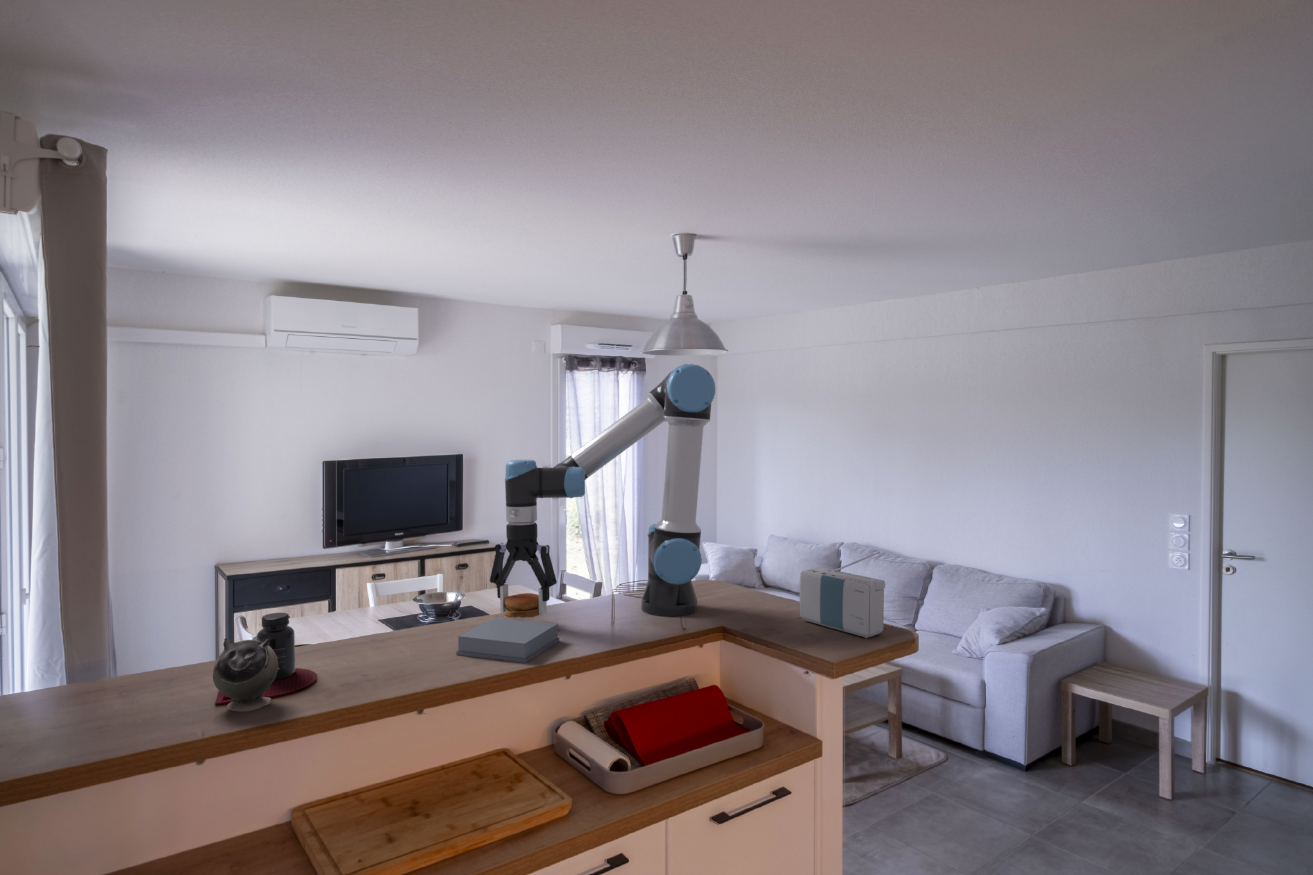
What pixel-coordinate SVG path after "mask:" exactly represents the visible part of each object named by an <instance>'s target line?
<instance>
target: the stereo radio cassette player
mask: <svg viewBox="0 0 1313 875" xmlns="http://www.w3.org/2000/svg"><path fill="white" fill-rule="evenodd" d="M879 554H881V552H880V551H877V552H876V553H873V554H870V555H868V556H866V557H863V558H860V559H858V560H855V561H853V562H851V563H848V564H846V565H843V566H841V567H838V568H836V569H830V568H825V567H816V568H815V567H814V568H810V569H804V570H801V571H800V577H799V614H800V615H799V617H800V618H802V619H803V620H804V621H805V622H806V623H808V622H810V623H813V624H817V625H820V626H823V627H827V628H830V629H835V630H838V631H841V632H845V633H849V634H852V635H855V636H859V637H863V638H864V639H869V638H871V637H875V636H876V635H880V634H881V633H882V632H884V620H885V619H884V616H885V615H884V611H885V608H884V606H885V603H884V602H885V588H886V581H885V579H879V578H875V577H870V576H869V577H868V576H863V575H860V574H854V573H849V572H844V571H841V570H843V569H845V568H848V567H850V566H853V565H855V564H858V563H859V562H862V561H864V560H866V559H868V558H871V557H873V556H875V555H879Z"/></svg>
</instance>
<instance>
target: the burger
mask: <svg viewBox="0 0 1313 875" xmlns="http://www.w3.org/2000/svg"><path fill="white" fill-rule="evenodd" d="M505 605H506V608H505V609H506V611H505V612H504V615H505V617H507V618H512V619H514V618H534V617H537V616H540V615H539V594H537V593H532V592H531V593H530V592H524V593H517V594H513V595H508V597H507V598H506V600H505Z"/></svg>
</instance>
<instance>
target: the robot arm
mask: <svg viewBox="0 0 1313 875" xmlns="http://www.w3.org/2000/svg"><path fill="white" fill-rule="evenodd" d="M715 395H716V383H715V380H714V377H713V376H712V374H711V373H710V372H709V370H707V369H706V368H704V367H702V366H701V365H698V364H694V363H690V364H688V363H685V364H682V365H681V364H680V365H679V366H676V368H674V369H673V370H671V371H670V372H669V373H668V374H667V375H666V377H664V379H663V380H662V381H661V382H660V383H659V384H657V386H655V387H654V388H653V389H652V390H650V391H649V392H648V393H647V398H646V399H644V400H643V401H642V402H640V403H639V404H637V405H636V406H635V407H634V408H633V409H631V410H630V411H628V412H627V413H625V414H624V415H623V416H621V417H620V418H619V419H617V420H616V421H615V422H613V423H612V424H611V425H609V426H608V427H607V428H605V429H604V430H602V431H601V432H600V433H599V434H598V435H596V436H594V437H593V438H592V439H590V440H589V441H587V443H585V444H584V445H582V446H581V447H580V448H579V449H577V450H576V451H575V452H573V453H572V454H571V455H569V456H568V457H566V458H565V459H564V460H563V461H561V462H560V463H558V464H555V466H552V467H537V466H538V465H537V461H535V460H534V459H513V460H509V461H507V462H506V464H505V475H504V476H505V477H504V482H505V483H504V485H505V486H504V487H505V511H506V512H505V519H506V520H505V521H506V522H507V524H506V527H505V528H506V529H505V530H506V532H505V533H506V541H507V542H506V543H504V542H500V543H497V544H495V550H494V551H495V556H494V559H493V564H492V568H491V572H490V577H489V583H491V584H494V585H496V591H497V594H496V595H497V599H499V600H500V613H502V614H503V613H504V614H505V611H506V609H505V608H506V605H505V600H506V598H507V597H508V596H509V584H507V580H508V578H509V575H510V573H511V571H512V570H513V568H514V566H515V563H516V562H519V561H522V562H526V563H527V564H528V565H529V566H530V568H531V569H532V572H533V574H534V575H535V577H536V580H537V581H538V583H539V585H540V587H539V588H538V595H539V615H538V616H541V617H542V616H543V615H545V614H547V612H548V608H547V602H548V601H549V600H550V597H551V596H550V589H551V587H553V586H555V585H556V584H558V583H557V582H558V580H557V577H556V574H555V571H554V567H553V562H552V559H551V556H550V550H551V549H550V548H551V546H550V545H549V544H546V545H543V544H539V542H538V524H537V521H538V509H537V508H538V507H537V506H538V505H537V503H538V502H537V501H538V499H549V498H550V499H554V498H555V499H556V498H557V499H561V498H562V499H563V498H564V499H565V498H566V499H568V498H569V499H573V498H582V497H584V496H585V493H586V480H587V479H588V478H590V477H591V476H592V475H593V474H595V473H596V472H598V471H599V470H601V469H602V468H604V466H606V465H608V464H609V463H610V462H611V461H612V460H614V459H616V458H617V457H618V456H619V455H621V454H622V453H624V451H626V450H627V449H629V448H631V447H632V446H633V445H635V444H636V443H637V442H638V441H640V440H641V439H642V438H643V437H645V436H647V435H648V434H650V433H651V432H652V431H653V430H655V429H656V428H658V426H660V425H661V424H663V423H664V422H666V423H667V424H668V432H667V433H668V434H667V436H668V437H667V444H666V445H667V446H666V456H665V457H666V458H665V460H666V461H665V470H664V471H665V472H664V484H663V497H662V509H661V519H660V521H658V522H657V523H652V524H651V525H649V527H648V532H647V538H648V539H647V540H648V543H647V544H648V548H647V550H648V551H647V553H648V556H647V557H648V558H647V560H648V562H647V563H648V565H647V567H648V568H647V572H648V573H647V582H646V585H645V589H644V590H643V591H644V592H643V595H642V598H641V606H640V608H641V611H643V612H644V613H647V614H649V615H650V614H651V615H655V616H666V617H672V616H673V617H677V616H685V615H691V614H694V613H696V612H697V611H698V610H699V609H698V607H699V602H698V598H697V595H696V592H695V588H694V585H693V582H692V580H693V579H694V578H696V576H697V575H698V574H699V572H700V570H701V567H702V560H703V558H702V553H701V551H700V549H701V537H702V536H701V534H702V529H701V527H700V526H699V525H698V524H697V512H698V511H697V510H698V498H699V495H698V494H699V487H700V486H699V484H700V474H701V473H700V472H701V471H700V470H701V461H702V460H701V459H702V449H703V448H702V446H703V437H704V436H703V434H704V428H705V426H706V425H707V424H708V423H709V422H710V421H711V414H712V413H711V411H712V404H713V403H712V402H713V401H714V399H715ZM506 551H507V552H508V557H507V558H506V562H505V564H504V566H503V563H504V558H505V555H506V554H505V553H506ZM537 552H538V554H539V555H540V561H541V562H542V563H541V564H542V565H541V564H540V561H539V558H538V557H539V556H538V555H537V554H536V553H537ZM542 566H543V567H542ZM502 567H503V568H502Z"/></svg>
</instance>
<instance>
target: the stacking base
mask: <svg viewBox="0 0 1313 875" xmlns="http://www.w3.org/2000/svg"><path fill="white" fill-rule="evenodd" d="M558 626H559V625H558V623H552V622H543V621H542V622H541V621H534V620H525V619H524V620H523V619H522V620H521V619H514V618H501V617H494V618H492V619H490V620H488V621H486V622H485V623H482V624H480V625H478V626H476V627H474V628H473V629H470V630H468V631H467V632H464V633H462V634H460V635H458V644H457V645H458V649H457V650H456V653H455V654H456V656H464V657H471V658H472V657H473V658H480V659H482V658H483V659H487V660H488V659H489V660H498V661H507V662H515V663H524V664H526V663H528V662H529V661H531V660H532V659H534V658H535V657H537V656H539V655H540V654H542V653H543V652H544V651H546V650H548V649H549V648H550V647H552V646H554V645H555V644H557V643H558V642H560V637H558V632H559V631H558V629H559V628H558Z"/></svg>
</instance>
